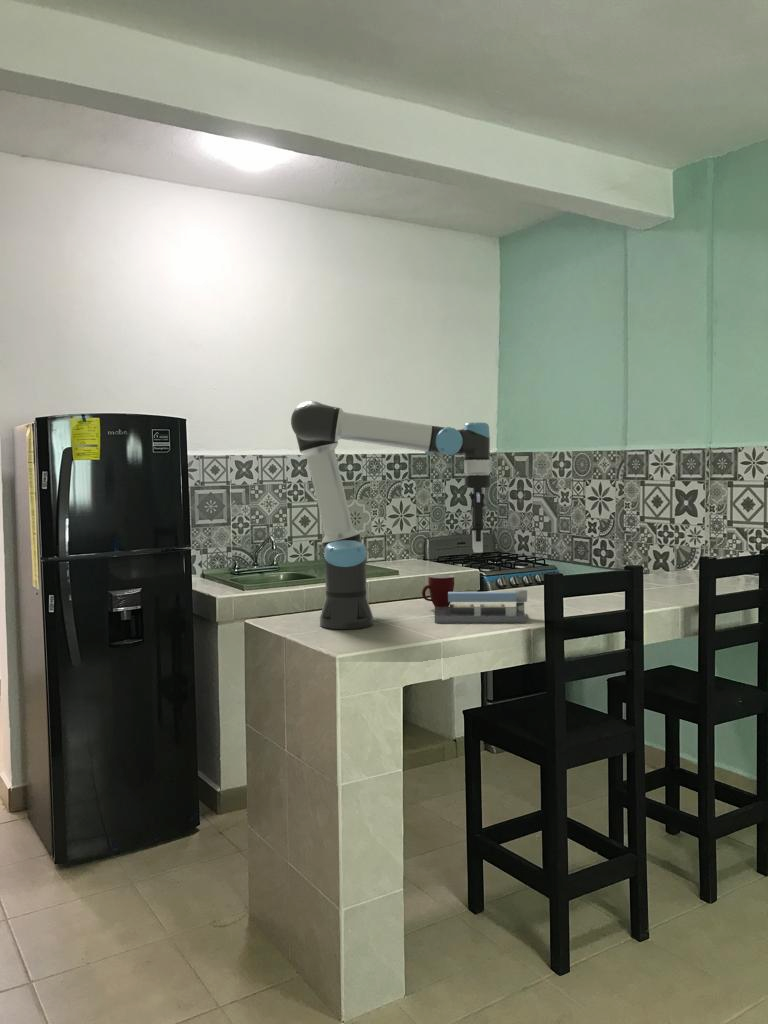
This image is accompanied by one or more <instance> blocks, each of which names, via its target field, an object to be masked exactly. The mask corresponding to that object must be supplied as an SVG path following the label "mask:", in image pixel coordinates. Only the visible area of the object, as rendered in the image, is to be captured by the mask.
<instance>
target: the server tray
mask: <svg viewBox="0 0 768 1024" xmlns="http://www.w3.org/2000/svg"><path fill="white" fill-rule="evenodd" d="M512 623H513V624H514V623H515V624H526V623H527V615H526V613H525V602H515V606H505V604H503V603H501V604H500V603H487V604H486V603H485V604H483V603H482V604H479V606H475V605H474V604H470V603H469V604H468V603H466V604H464V603H461V604H459V603H457V604H455V603H453V604H451V603H450V605H449V607H435V606H434V624H512Z"/></svg>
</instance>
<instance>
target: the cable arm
mask: <svg viewBox="0 0 768 1024" xmlns="http://www.w3.org/2000/svg"><path fill="white" fill-rule="evenodd" d="M448 602H451V603H516V602H524V603H526V602H528V590H526V589H514V590H513V591H453V592H448Z"/></svg>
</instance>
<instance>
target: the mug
mask: <svg viewBox="0 0 768 1024" xmlns="http://www.w3.org/2000/svg"><path fill="white" fill-rule="evenodd" d="M427 582H428V584H427V585H424V586H423V588H422V590H421V595H422V598H423V599H424V600H425V601H427V602H431V603H432V604H433V607H434V608H435V607H450V604H451V603H452V602H448V592H454V589H455V576H454V575H451V574H432V575H429V576H428V581H427ZM428 589H429V594H430V598H428V597H427V596H426V592H427V590H428Z"/></svg>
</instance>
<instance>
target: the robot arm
mask: <svg viewBox="0 0 768 1024" xmlns="http://www.w3.org/2000/svg"><path fill="white" fill-rule="evenodd" d="M290 418H291V419H290V426H291V428H292V430H293V432H294V434H295V437H296V440H297V444H298V449H299V453H300V454H301V455H303V456H305V457H306V460H307V466H308V468H309V472H310V475H311V476H310V478H311V481H312V485H313V490H314V494H315V498H316V502H317V506H318V510H319V514H320V518H321V521H322V522H321V523H322V527H323V531H324V537H323V538H322V540H321V544H322V548H323V551H324V552H323V553H324V554H323V555H324V565H325V566H324V569H325V571H324V573H325V580H324V581H325V598H324V602H323V606H322V610H321V613H320V617H319V625H320V627H322V628H326V629H330V630H331V629H332V630H354V629H363V628H368V627H371V626H373V625H374V615H373V613H372V610H371V606H370V604H369V600H368V597H367V555H368V554H367V552H368V551H367V549H366V545H365V544H364V543H363V541H362V537H361V533H360V531H358V529H355V528H354V525H353V522H352V517H351V513H350V509H349V505H348V502H347V498H346V497H347V496H346V493H345V488H344V485H343V484H344V483H343V480H342V476H341V472H340V468H339V464H338V459H337V455H336V448H337V446H338V444H339V440H346V441H352V442H359V443H360V442H361V443H366V444H373V445H379V446H380V445H381V446H386V447H393V448H401V449H408V450H415V451H420V452H421V451H422V452H424V453H425V455H428V456H454V455H456V456H457V455H459V456H460V455H461V456H462V455H464V456H463V457H464V460H463V461H464V464H463V465H464V467H463V468H464V469H463V470H464V474H466V475H465V476H464V487H465V488H466V489H467V488H468V489H472V493H470V503H471V504H470V506H471V508H472V522H471V524H472V525H471V526H472V527H471V532H472V533H471V534H472V550H473V553H475V554H476V553H480V554H481V553H484V535H483V533H484V525H483V524H484V523H483V522H484V520H483V517H484V515H483V514H484V511H483V509H484V506H485V505H484V501H485V494H484V493H482V489H485V488H487V489H489V488H490V485H491V476H490V475H488V474H490V472H491V471H490V467H492V462H491V461H490V457H491V456H490V451H491V450H490V449H491V446H490V445H491V437H490V426H489V424H488V423H487V422H483V421H482V422H481V421H480V422H466V423H464V425H463V426H464V427H463V429H456V428H454V427H450V426H449V427H448V426H446V427H444V426H437V425H432V424H425V423H418V422H411V421H405V420H397V419H392V418H391V419H390V418H386V417H377V416H373V415H372V416H371V415H365V414H359V413H352V412H345V411H344V410H343V409H342V407H336V406H331V405H327V404H324V403H321V402H318V401H314V400H308V401H305V402H301V403H300V404H298V405H297V406H296V407H295V408H294V410H293V412H292V413H291V417H290Z"/></svg>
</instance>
